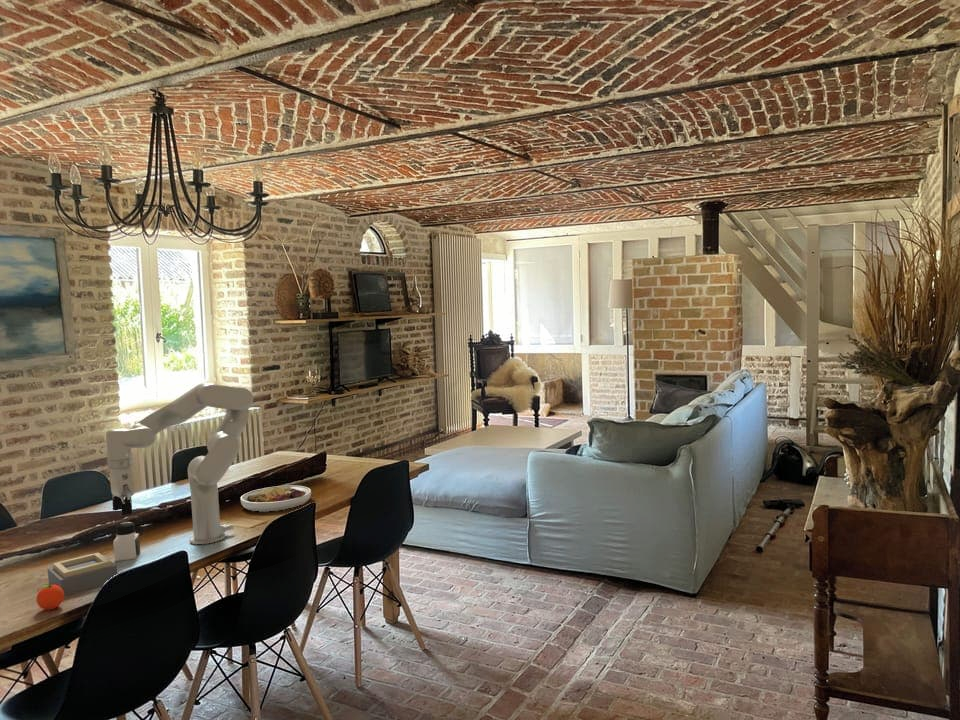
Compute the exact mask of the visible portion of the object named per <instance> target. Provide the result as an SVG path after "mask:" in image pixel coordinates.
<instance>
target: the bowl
mask: <svg viewBox="0 0 960 720" xmlns="http://www.w3.org/2000/svg"><path fill="white" fill-rule="evenodd" d="M311 494H312V490H311V488H309V487H307V486H305V485H304V486H303V485H283V484H282V485H277V486H271V487H270V486H269V487H264V488H259V489H255V490H251V491H249V492H247V493H244V494H243V495H241V496H240V503H241V505H242V506H243V508H244V509H246V510H248V511H250V510H251V512H255V511H259V512H258V513H270V512H269V511H275V512H280V511H279V510H283V511H285V510H284V509H288V508H292V509H294V508H293V507H296V506H298V507H300V506H299V505H301V506H303V505H304V504H306V503H307V502H308V501H309V500H310V498H311ZM296 508H297V507H296ZM288 510H289V509H288Z"/></svg>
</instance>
